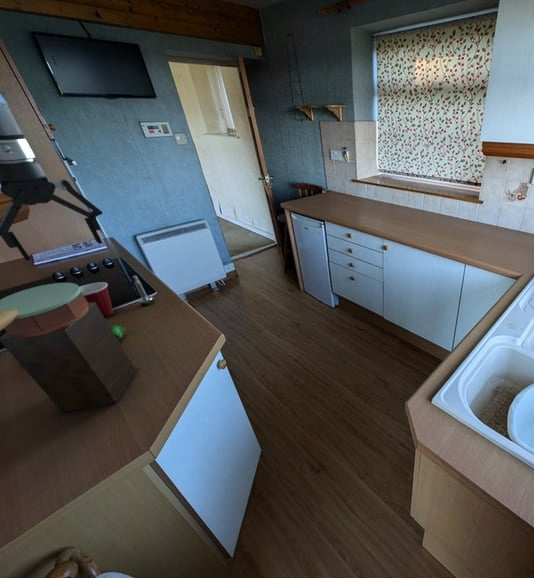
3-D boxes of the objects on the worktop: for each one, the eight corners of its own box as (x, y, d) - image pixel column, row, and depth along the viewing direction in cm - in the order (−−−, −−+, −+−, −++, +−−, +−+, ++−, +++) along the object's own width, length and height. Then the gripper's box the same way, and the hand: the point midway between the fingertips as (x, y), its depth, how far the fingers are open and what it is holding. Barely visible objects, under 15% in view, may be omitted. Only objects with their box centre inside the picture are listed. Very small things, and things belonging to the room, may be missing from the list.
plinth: (56, 415, 75) (-27, 323, 60) (87, 376, 86) (24, 289, 71) (118, 404, 78) (54, 314, 63) (140, 367, 90) (90, 283, 74)
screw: (141, 308, 116) (139, 303, 119) (155, 303, 119) (153, 298, 122) (126, 279, 109) (125, 275, 112) (142, 276, 112) (141, 271, 115)
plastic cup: (120, 303, 119) (106, 277, 113) (122, 315, 112) (107, 288, 106) (85, 313, 113) (68, 286, 107) (84, 326, 106) (66, 299, 100)
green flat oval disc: (25, 292, 72) (17, 281, 70) (95, 285, 75) (89, 274, 73) (-89, 365, 50) (-104, 353, 49) (16, 351, 54) (6, 339, 52)
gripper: (-85, 169, 54) (-7, 271, 65) (90, 157, 71) (129, 239, 82) (-84, 165, 58) (-10, 262, 69) (82, 154, 75) (120, 233, 86)
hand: (65, 250), depth 75 cm, fingers open, 13 cm apart
